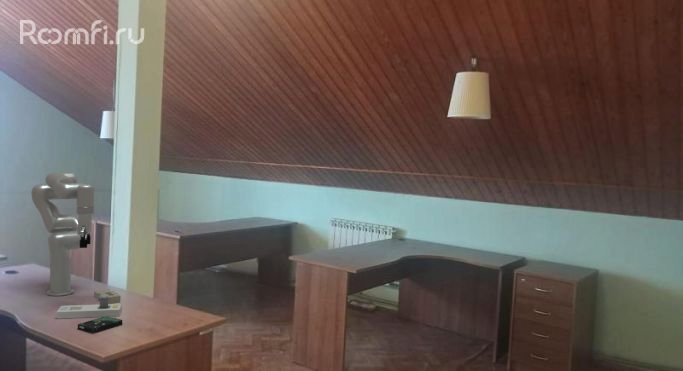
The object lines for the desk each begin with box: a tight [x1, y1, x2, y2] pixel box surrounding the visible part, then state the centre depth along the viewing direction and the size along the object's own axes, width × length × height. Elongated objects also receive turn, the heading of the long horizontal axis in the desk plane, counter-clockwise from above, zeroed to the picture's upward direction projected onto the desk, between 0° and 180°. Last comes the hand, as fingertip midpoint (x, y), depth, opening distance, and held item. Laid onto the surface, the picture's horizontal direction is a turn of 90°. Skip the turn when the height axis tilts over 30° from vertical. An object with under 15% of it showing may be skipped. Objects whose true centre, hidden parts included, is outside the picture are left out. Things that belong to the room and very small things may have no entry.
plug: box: [99, 294, 109, 309], centre depth 262 cm, size 4×4×8 cm
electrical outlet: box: [93, 288, 122, 304], centre depth 285 cm, size 7×4×18 cm
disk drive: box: [77, 316, 123, 335], centre depth 244 cm, size 10×3×15 cm
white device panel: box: [55, 303, 123, 320], centre depth 261 cm, size 10×26×3 cm, turn 105°
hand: (85, 245), depth 275 cm, fingers open, 9 cm apart
